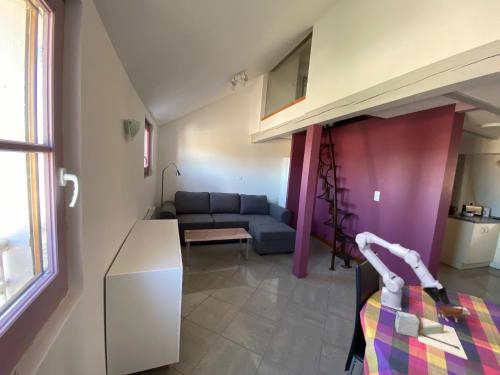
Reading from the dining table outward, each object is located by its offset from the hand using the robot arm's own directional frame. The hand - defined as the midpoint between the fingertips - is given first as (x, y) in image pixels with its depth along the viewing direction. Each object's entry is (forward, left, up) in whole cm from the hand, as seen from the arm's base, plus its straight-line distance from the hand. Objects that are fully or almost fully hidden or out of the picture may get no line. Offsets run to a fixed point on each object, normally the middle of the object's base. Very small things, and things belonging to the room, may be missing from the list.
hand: (442, 302), depth 103 cm
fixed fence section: (-9, -5, -13) cm, 16 cm away
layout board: (-2, -7, -13) cm, 15 cm away
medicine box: (-15, -14, -13) cm, 24 cm away
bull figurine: (+7, +11, -13) cm, 19 cm away
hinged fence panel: (-5, -8, -12) cm, 16 cm away
